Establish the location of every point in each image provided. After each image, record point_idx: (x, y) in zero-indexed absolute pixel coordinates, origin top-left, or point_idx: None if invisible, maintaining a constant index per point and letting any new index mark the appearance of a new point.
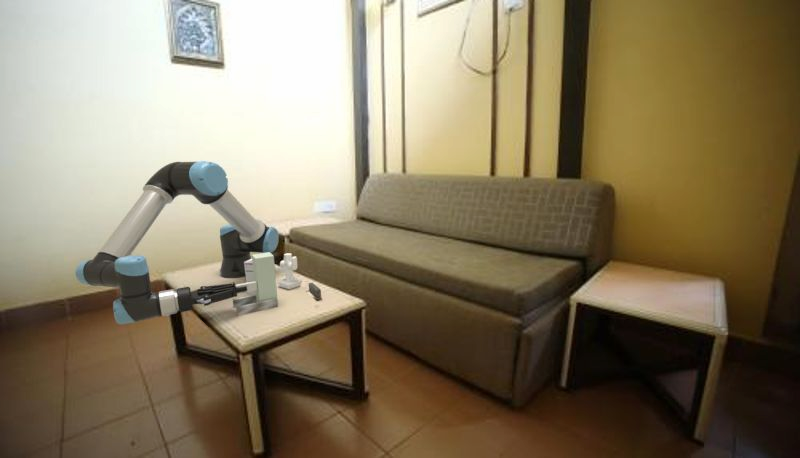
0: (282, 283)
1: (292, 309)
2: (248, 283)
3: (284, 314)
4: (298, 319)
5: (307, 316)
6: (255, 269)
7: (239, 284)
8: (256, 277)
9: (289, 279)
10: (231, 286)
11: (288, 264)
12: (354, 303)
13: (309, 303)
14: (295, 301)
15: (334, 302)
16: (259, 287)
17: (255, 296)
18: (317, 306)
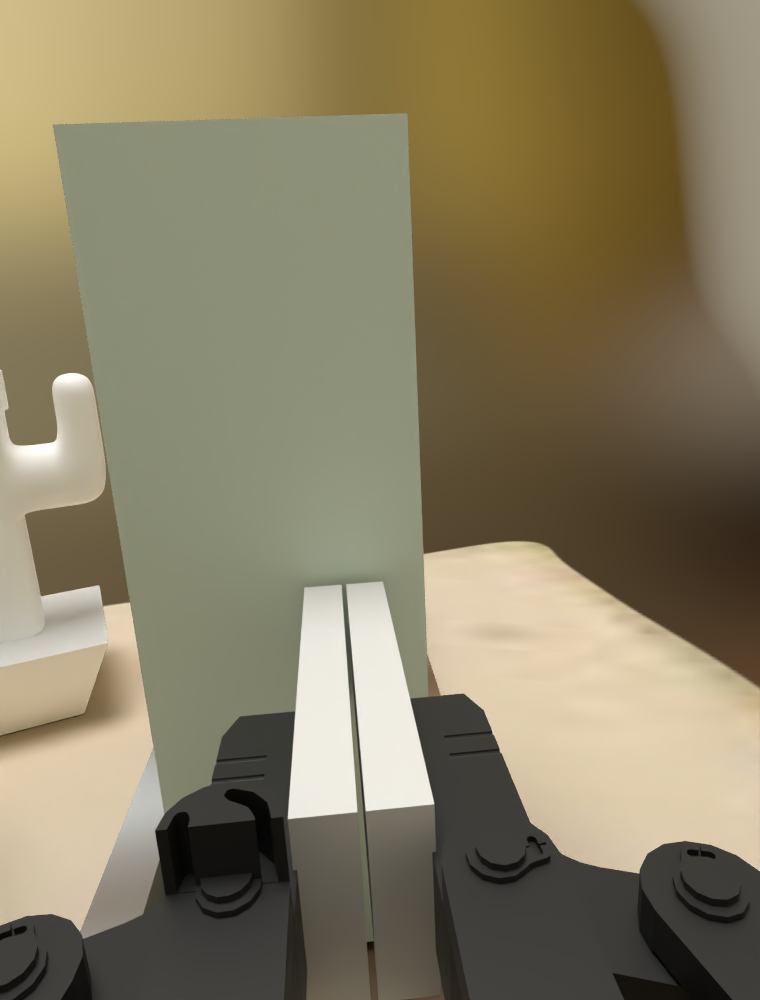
0: (14, 665)
1: (497, 729)
2: (374, 640)
3: (594, 781)
4: (728, 718)
5: (674, 677)
6: (314, 370)
7: (330, 746)
8: (346, 509)
9: (36, 610)
10: (290, 946)
11: (17, 464)
12: (532, 548)
13: (428, 652)
14: None
15: (480, 584)
16: (424, 641)
17: (155, 888)
18: (506, 631)
